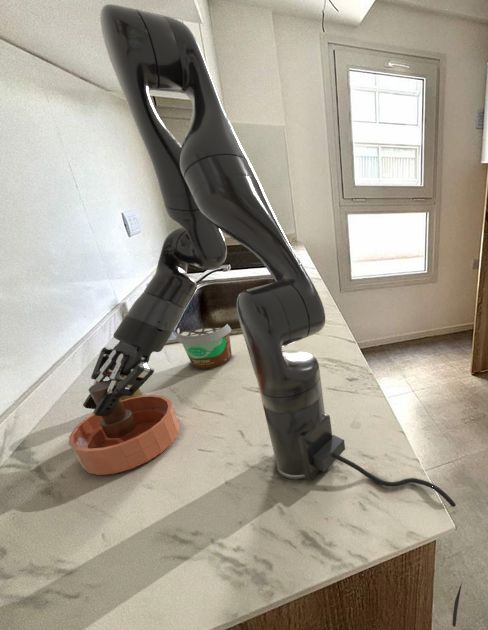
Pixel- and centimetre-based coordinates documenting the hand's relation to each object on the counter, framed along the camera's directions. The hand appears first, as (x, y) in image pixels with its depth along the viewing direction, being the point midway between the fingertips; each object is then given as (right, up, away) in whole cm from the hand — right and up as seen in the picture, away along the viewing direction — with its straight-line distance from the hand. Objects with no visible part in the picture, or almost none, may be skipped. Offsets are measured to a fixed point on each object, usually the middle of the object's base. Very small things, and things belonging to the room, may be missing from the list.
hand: (95, 411), depth 57 cm
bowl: (+3, -8, +5) cm, 9 cm away
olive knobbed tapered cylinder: (-7, -3, +15) cm, 17 cm away
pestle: (+1, -5, +4) cm, 6 cm away
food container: (+1, +3, +29) cm, 29 cm away
